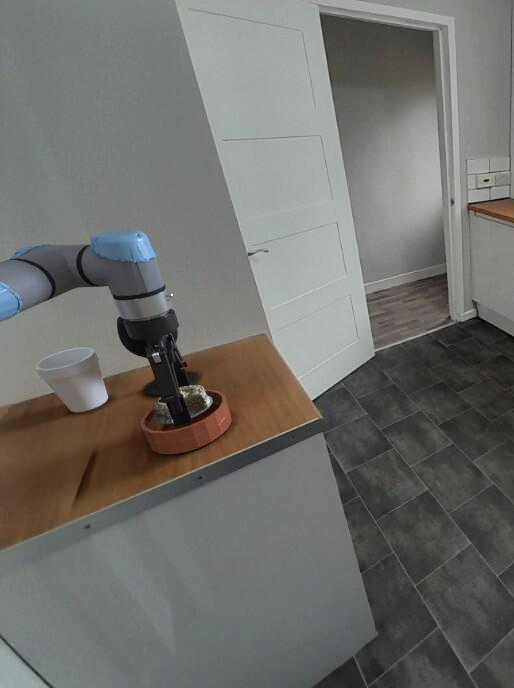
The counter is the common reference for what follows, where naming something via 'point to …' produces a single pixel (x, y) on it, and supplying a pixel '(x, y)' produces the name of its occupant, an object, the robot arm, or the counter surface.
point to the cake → (194, 401)
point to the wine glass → (143, 354)
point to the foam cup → (74, 378)
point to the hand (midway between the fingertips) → (184, 409)
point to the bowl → (188, 428)
